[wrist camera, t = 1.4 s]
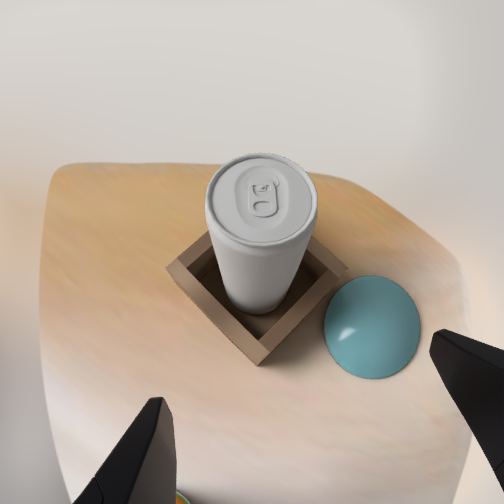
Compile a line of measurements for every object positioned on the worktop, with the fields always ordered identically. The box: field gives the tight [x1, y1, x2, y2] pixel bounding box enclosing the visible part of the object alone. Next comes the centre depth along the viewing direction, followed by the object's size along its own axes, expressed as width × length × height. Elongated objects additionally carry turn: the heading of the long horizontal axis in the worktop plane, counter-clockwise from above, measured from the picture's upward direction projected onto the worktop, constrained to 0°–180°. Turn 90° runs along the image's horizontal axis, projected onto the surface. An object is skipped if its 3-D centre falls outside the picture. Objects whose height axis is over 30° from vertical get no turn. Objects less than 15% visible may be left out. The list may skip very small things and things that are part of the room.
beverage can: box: [205, 153, 318, 315], centre depth 18 cm, size 5×5×12 cm
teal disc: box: [324, 276, 420, 379], centre depth 22 cm, size 8×8×1 cm
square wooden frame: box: [166, 231, 348, 366], centre depth 22 cm, size 9×9×4 cm
